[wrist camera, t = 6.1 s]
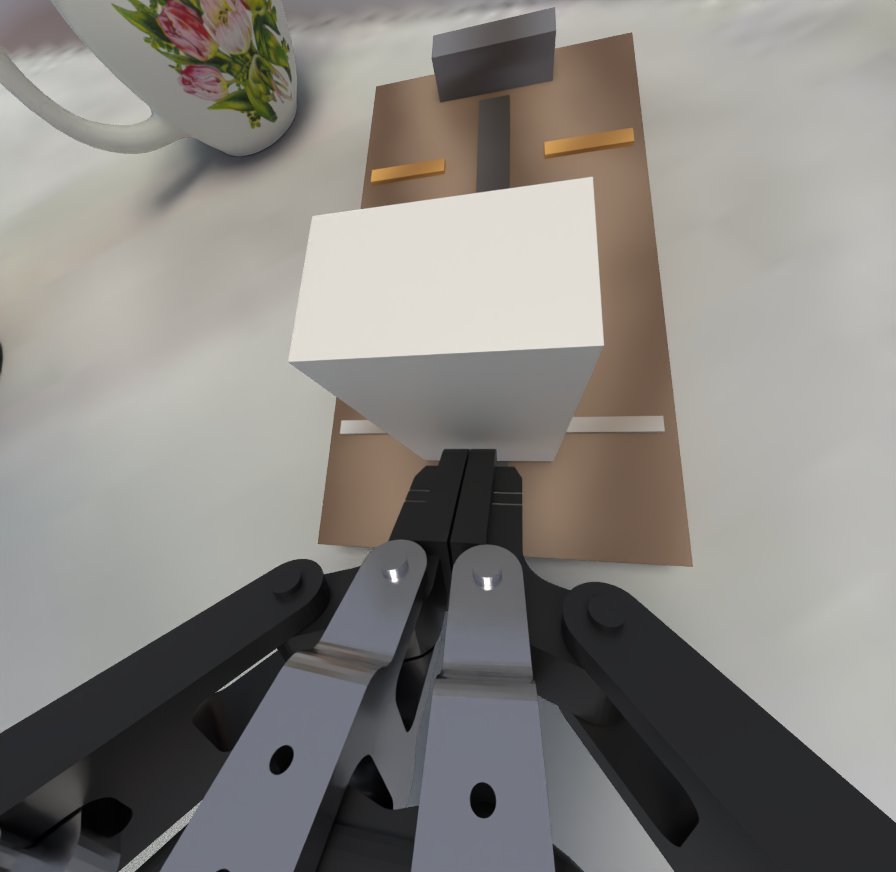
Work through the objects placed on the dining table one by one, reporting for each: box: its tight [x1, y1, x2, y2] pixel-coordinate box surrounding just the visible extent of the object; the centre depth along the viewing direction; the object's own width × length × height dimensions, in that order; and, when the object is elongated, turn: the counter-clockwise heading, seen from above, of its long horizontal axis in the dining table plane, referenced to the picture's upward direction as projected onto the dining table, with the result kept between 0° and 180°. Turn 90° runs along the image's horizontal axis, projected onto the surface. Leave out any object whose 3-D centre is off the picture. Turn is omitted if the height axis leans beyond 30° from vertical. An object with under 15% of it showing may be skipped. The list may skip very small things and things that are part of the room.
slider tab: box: [288, 177, 604, 462], centre depth 10 cm, size 5×3×9 cm, turn 87°
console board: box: [318, 7, 693, 567], centre depth 17 cm, size 14×26×4 cm, turn 177°
